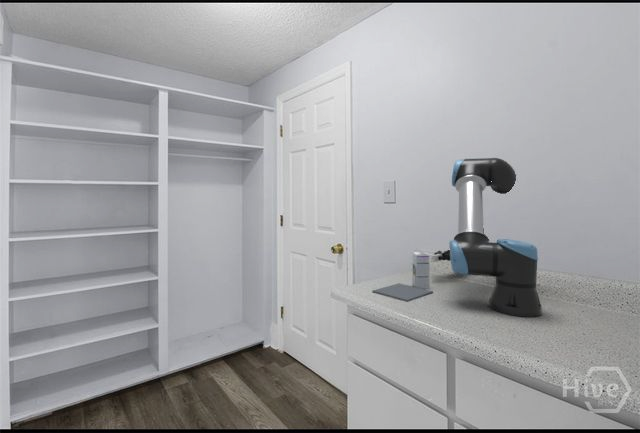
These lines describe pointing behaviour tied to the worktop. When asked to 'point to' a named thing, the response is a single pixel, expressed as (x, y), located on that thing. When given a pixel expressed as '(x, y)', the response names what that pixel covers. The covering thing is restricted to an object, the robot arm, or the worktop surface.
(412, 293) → the mat
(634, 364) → the worktop surface
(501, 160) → the robot arm
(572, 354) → the worktop surface
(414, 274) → the syrup box
